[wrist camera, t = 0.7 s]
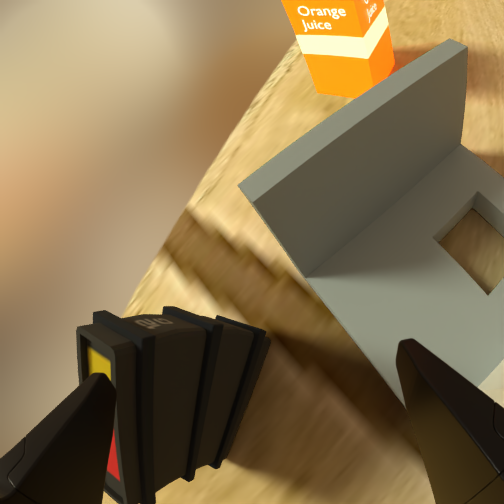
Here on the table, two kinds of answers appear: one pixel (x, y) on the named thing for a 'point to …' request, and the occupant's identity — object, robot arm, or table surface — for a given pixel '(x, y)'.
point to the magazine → (170, 393)
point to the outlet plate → (392, 218)
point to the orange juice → (343, 43)
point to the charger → (495, 384)
